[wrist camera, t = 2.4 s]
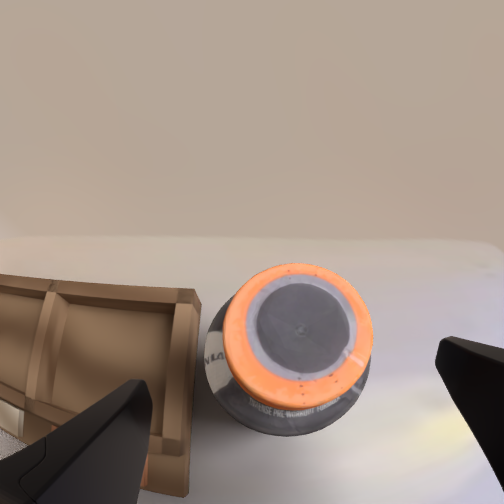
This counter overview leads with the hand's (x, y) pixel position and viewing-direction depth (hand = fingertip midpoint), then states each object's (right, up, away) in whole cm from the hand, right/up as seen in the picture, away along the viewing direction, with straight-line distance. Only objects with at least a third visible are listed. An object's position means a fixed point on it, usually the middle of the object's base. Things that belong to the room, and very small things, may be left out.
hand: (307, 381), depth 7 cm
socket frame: (-16, -5, +9) cm, 19 cm away
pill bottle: (0, -4, +9) cm, 10 cm away
